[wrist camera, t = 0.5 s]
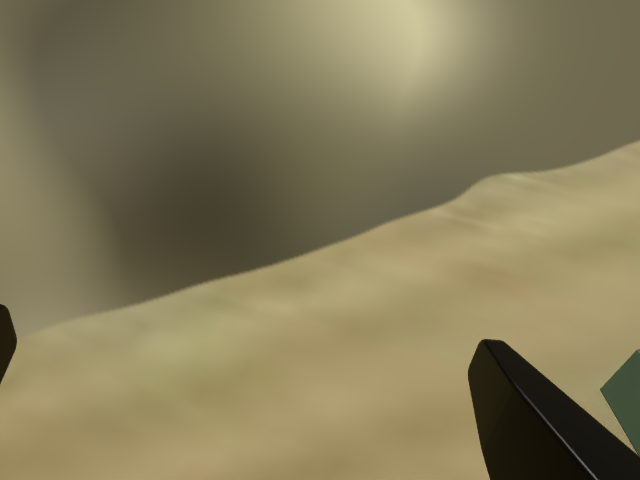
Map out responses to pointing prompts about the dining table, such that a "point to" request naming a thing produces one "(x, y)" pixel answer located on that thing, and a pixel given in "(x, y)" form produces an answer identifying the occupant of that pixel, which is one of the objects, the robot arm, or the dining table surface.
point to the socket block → (626, 397)
